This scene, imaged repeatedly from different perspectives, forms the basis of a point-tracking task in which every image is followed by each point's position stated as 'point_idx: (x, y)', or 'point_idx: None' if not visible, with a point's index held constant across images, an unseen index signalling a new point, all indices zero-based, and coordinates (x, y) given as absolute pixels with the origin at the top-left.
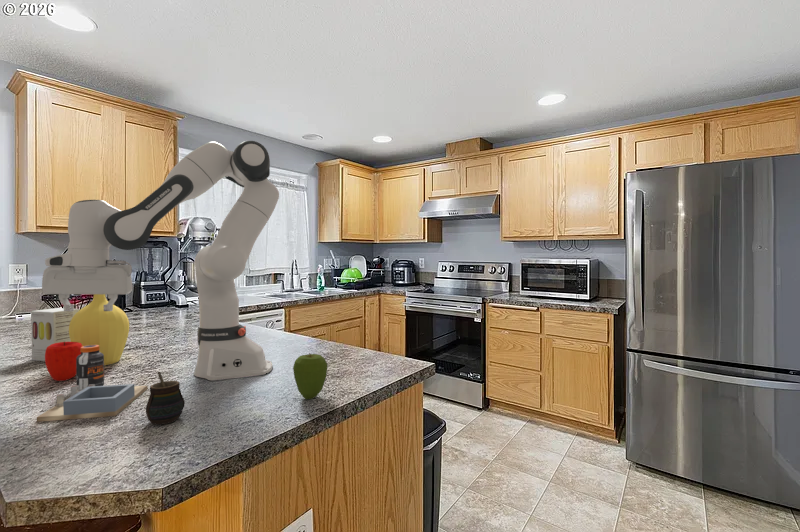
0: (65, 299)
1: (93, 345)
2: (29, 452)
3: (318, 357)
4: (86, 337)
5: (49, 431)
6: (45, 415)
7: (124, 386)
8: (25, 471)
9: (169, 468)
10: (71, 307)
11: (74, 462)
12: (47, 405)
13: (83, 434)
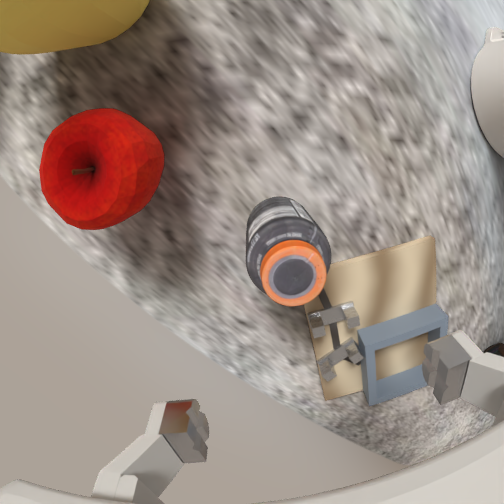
0: (144, 480)
1: (301, 267)
2: (378, 438)
3: None
4: (60, 38)
5: (366, 410)
6: (334, 394)
7: (433, 328)
8: (397, 452)
9: (492, 417)
10: (194, 429)
11: (429, 435)
12: (277, 341)
13: (412, 405)
